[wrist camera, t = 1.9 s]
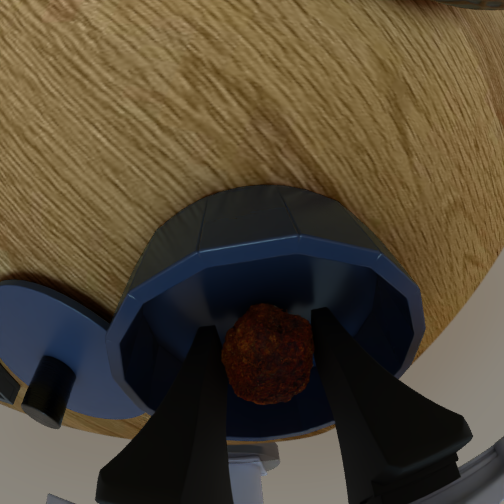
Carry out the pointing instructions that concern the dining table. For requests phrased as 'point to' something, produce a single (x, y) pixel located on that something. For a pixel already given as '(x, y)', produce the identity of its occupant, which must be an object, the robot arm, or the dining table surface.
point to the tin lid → (58, 355)
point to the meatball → (268, 354)
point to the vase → (475, 4)
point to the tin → (260, 296)
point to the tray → (7, 387)
